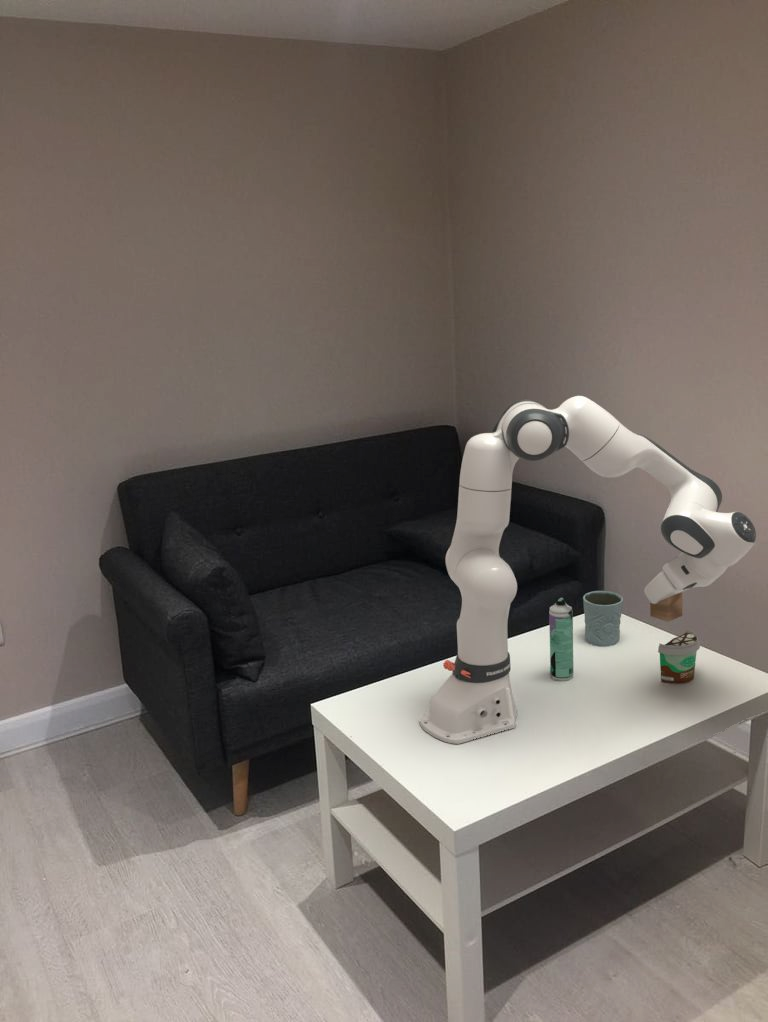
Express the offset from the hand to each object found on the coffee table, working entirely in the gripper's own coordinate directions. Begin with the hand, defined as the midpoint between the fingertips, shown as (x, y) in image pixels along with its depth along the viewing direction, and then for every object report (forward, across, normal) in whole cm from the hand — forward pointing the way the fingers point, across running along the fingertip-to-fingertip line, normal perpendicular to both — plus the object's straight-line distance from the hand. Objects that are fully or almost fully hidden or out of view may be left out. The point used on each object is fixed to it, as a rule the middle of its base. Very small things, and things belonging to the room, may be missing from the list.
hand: (663, 596), depth 210 cm
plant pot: (+34, -8, -3) cm, 35 cm away
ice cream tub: (+14, -5, +17) cm, 22 cm away
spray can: (+28, +16, +2) cm, 32 cm away
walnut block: (+3, 0, +4) cm, 5 cm away
